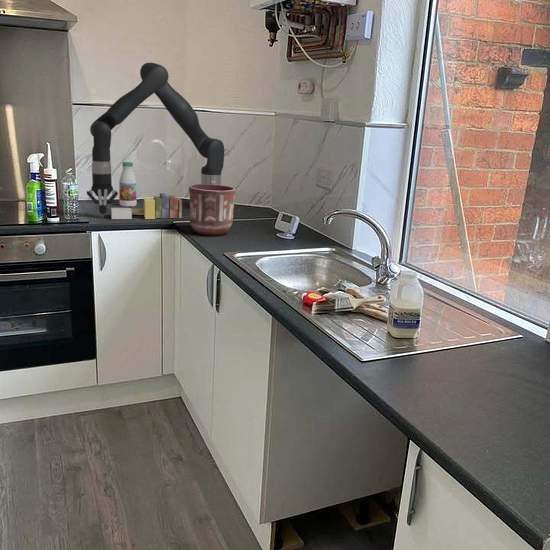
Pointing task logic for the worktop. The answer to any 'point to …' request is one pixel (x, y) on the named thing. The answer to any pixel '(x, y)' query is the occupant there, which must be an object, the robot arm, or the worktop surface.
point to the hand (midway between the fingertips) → (102, 213)
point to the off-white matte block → (121, 213)
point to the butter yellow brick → (149, 208)
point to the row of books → (164, 207)
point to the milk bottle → (127, 186)
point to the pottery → (211, 208)
